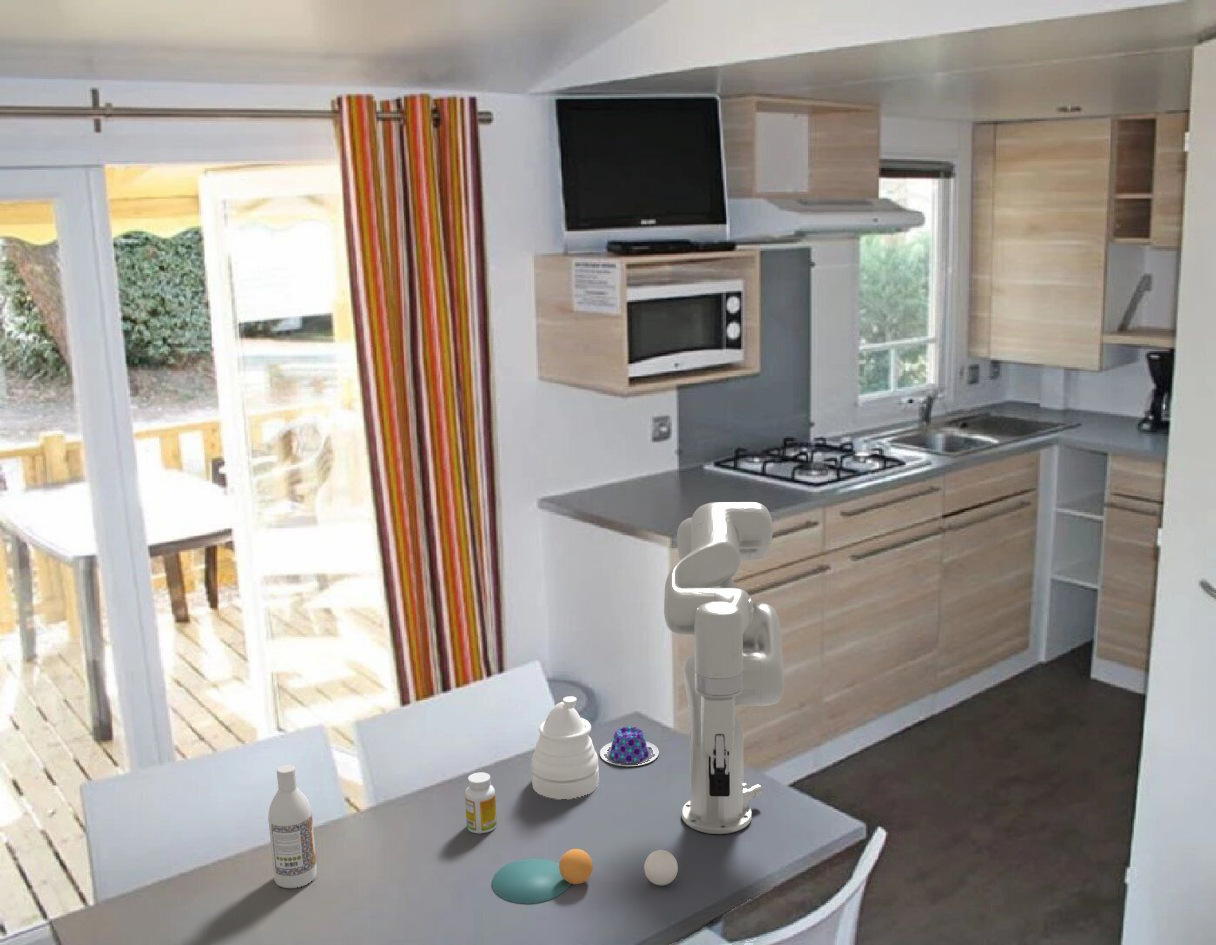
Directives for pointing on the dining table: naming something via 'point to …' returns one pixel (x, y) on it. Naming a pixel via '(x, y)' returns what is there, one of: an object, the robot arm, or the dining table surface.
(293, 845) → the bath foam
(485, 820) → the supplement bottle
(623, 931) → the dining table surface
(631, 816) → the dining table surface
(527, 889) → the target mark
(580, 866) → the orange ball
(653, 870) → the white ball
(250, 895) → the dining table surface
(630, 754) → the pudding
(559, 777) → the honey pot
